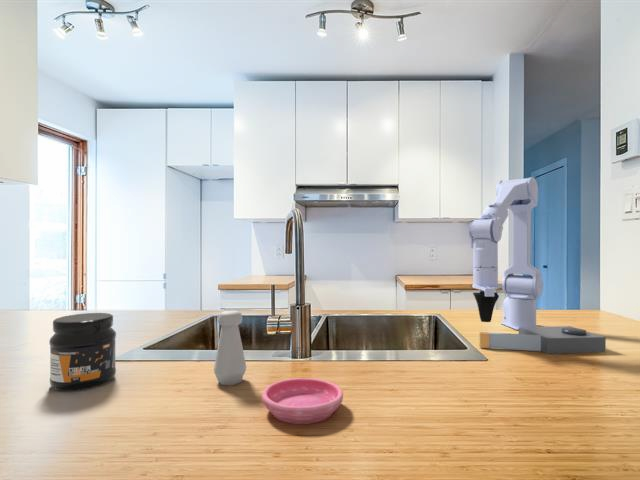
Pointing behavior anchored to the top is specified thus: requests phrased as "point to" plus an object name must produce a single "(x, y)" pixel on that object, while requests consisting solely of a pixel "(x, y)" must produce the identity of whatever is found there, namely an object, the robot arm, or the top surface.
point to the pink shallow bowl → (302, 400)
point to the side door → (510, 341)
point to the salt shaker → (230, 350)
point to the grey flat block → (566, 339)
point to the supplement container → (82, 351)
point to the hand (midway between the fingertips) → (485, 321)
